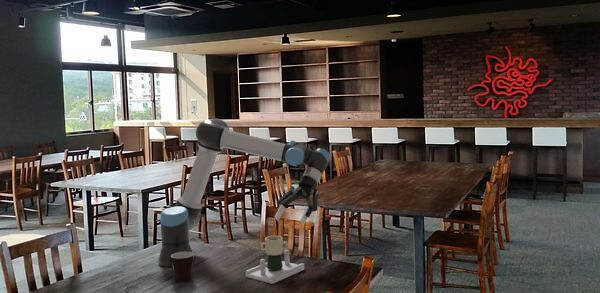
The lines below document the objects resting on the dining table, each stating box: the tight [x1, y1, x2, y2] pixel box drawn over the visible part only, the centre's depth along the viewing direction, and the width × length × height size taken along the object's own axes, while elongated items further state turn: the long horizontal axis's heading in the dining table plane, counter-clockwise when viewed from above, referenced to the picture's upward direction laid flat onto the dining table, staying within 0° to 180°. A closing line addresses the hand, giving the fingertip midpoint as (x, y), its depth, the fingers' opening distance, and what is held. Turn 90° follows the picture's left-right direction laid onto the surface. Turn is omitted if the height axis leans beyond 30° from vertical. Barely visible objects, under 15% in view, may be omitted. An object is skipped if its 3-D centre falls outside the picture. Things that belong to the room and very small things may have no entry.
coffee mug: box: [171, 252, 194, 284], centre depth 210 cm, size 12×9×10 cm
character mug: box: [260, 235, 289, 270], centre depth 213 cm, size 11×7×13 cm, turn 94°
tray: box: [245, 249, 305, 284], centre depth 214 cm, size 14×20×8 cm
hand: (288, 221), depth 219 cm, fingers open, 13 cm apart
